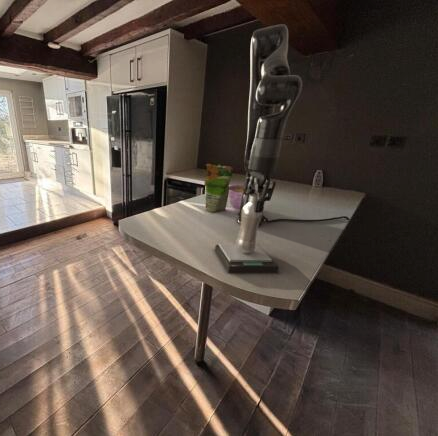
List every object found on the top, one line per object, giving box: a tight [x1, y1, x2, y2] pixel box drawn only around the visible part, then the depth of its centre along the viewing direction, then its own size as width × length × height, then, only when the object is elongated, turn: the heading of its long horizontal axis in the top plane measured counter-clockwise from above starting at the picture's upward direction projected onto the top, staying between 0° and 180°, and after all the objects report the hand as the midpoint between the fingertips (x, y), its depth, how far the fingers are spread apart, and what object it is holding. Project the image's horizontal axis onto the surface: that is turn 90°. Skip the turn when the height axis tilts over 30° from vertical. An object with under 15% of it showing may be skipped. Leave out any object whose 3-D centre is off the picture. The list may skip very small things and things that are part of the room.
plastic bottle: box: [234, 194, 264, 253], centre depth 76 cm, size 6×7×20 cm
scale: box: [214, 243, 280, 274], centre depth 80 cm, size 16×14×3 cm
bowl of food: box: [228, 184, 244, 212], centre depth 127 cm, size 20×20×12 cm
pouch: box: [204, 163, 234, 213], centre depth 123 cm, size 11×12×25 cm
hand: (253, 208), depth 74 cm, fingers closed on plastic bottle, 6 cm apart
